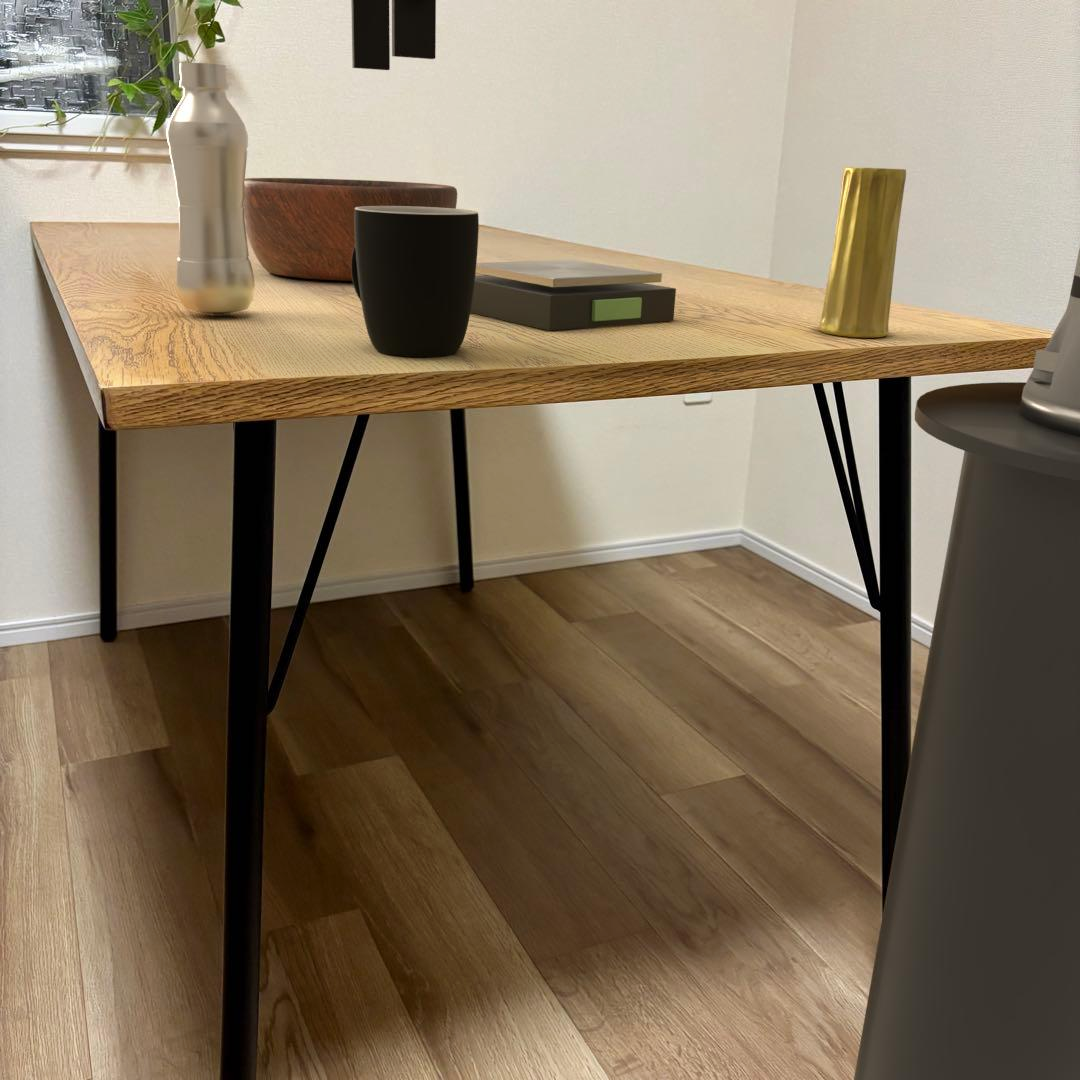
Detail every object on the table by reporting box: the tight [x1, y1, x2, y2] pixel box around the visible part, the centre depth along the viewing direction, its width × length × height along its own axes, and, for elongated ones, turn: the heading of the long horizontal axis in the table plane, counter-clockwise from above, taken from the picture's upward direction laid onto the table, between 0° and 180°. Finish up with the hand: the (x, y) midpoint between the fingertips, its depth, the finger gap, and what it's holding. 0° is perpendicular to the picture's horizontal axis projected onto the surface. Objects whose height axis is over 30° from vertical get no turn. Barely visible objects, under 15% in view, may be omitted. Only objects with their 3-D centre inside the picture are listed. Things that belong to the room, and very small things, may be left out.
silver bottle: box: [166, 62, 256, 317], centre depth 91 cm, size 6×7×20 cm
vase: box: [818, 166, 907, 339], centre depth 97 cm, size 6×6×14 cm
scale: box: [470, 274, 677, 332], centre depth 102 cm, size 15×15×3 cm
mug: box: [351, 206, 480, 358], centre depth 81 cm, size 12×9×10 cm
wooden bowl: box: [243, 177, 458, 282], centre depth 127 cm, size 25×25×10 cm
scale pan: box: [475, 259, 663, 288], centre depth 102 cm, size 13×13×1 cm
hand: (390, 64), depth 77 cm, fingers open, 13 cm apart
